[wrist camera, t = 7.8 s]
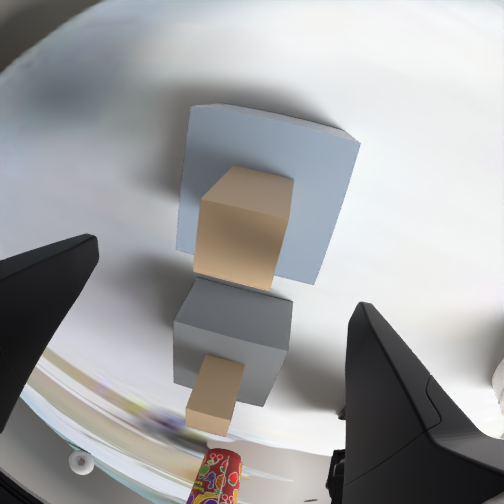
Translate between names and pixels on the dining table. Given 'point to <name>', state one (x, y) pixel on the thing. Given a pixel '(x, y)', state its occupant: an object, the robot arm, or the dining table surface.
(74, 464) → the donut
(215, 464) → the smoothie
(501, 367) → the honey pot
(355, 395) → the robot arm
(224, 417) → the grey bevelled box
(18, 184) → the dining table surface
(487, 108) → the dining table surface
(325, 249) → the blue-grey and tan block
